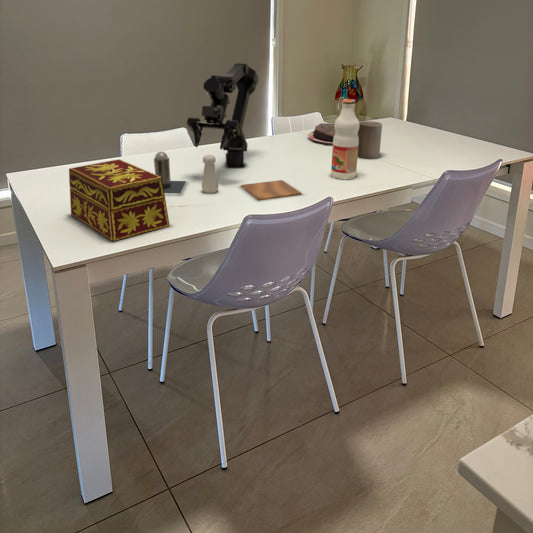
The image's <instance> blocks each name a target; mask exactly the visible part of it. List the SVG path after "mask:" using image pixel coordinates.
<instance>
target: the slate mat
mask: <svg viewBox="0 0 533 533" xmlns="http://www.w3.org/2000/svg"><path fill="white" fill-rule="evenodd" d="M186 183H187V181H186V180H171V187H170V188H167V189H164V194H180V195H181V192H182V190H183V189H184V187H185V185H186Z"/></svg>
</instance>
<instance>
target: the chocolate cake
mask: <svg viewBox="0 0 533 533" xmlns="http://www.w3.org/2000/svg"><path fill="white" fill-rule="evenodd" d="M334 124H335V122H334V123H332V122H331V123H330V122H327V123H319V124H318V125H315V127H314V130H313V131H311V132H309V133H308V134H307V137H308V138H309V139H310V140H311V141H312V143H318V144H324V145H326V146H333V137H334V135H335V128H334Z"/></svg>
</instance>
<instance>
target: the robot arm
mask: <svg viewBox="0 0 533 533" xmlns="http://www.w3.org/2000/svg"><path fill="white" fill-rule="evenodd" d="M258 84H259V75H258V73H257V71H256V70H255V69H253V68H251V67H250V66H249V64H247V63H246V62H245V63H244V62H236V63H234V64H233V66H232V67H231V68H230V69H229V70H228V71H227V72H226V73H223V74H222V73H221V74H217V75H213V74H212V75H211V77H209V78H208V79H206V80H205V82H203V89H204V91H205V93H206V95H207V96H208V99H210V100H211V103H210V105H202V108H201V117H203V119H204V121H201V119H200V118H199V117H195V116H194V117H192V116H190V117H188V118H187V120H186V123H185V124H186V126H187V127H188V128H189V130H190V131H191V132H192V133H193V138H194V146H195V148H198V146H199V145H200V141H201V138H202V135H203V133H202V131H203V129H215V130H223V133H222V136H221V141H220V145H219V149H220V151H221V150H223V151H226V153H225V165H226V166H227V168H244V167H245V161H244V156H245V155H244V154H245V152H248V145H249V144H248V142H247V139H246V135H245V131H244V130H243V127H244V123H245V119H246V114H247V108H248V104H249V100H250V96H251V95H252V94H253V93H255V91H256V88H257V85H258ZM236 88H237V95H236V98H235V103H234V108H233V112H232V117H231V119H227V120H225V119H226V118H227V114H226V113H227V109H228V106H229V104H230V96H228V94H233V93H234V92H235V90H236ZM224 121H225V123H224Z"/></svg>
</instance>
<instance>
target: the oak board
mask: <svg viewBox="0 0 533 533" xmlns="http://www.w3.org/2000/svg"><path fill="white" fill-rule="evenodd" d="M240 187H241V188H242V189H243V190H245V191H246V192H247V193H249V194H250V195H251V196H252V197H254V198H255V199H256V200H257V201H265V200H271V199H279V198H286V197H293V196H294V197H295V196H300V195H302V192H301V191H300V190H298V189H296V188H295V187H293V186H292V185H290V184H289V183H287V182H286V181H284V180H282V179H281V180H280V179H279V180H272V181H271V180H270V181H264V182H256V183H255V182H254V183H247V184H240Z"/></svg>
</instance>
